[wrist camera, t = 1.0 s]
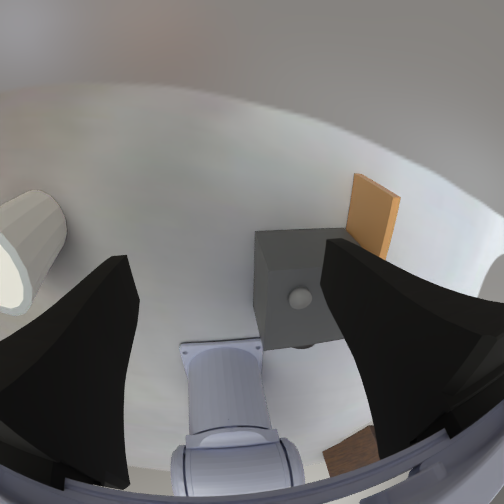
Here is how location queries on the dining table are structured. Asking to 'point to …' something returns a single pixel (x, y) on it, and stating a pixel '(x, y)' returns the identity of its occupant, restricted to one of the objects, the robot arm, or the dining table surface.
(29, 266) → the white cup
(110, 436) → the robot arm
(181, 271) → the dining table surface
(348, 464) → the tissue box cover
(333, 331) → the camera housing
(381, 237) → the side door
